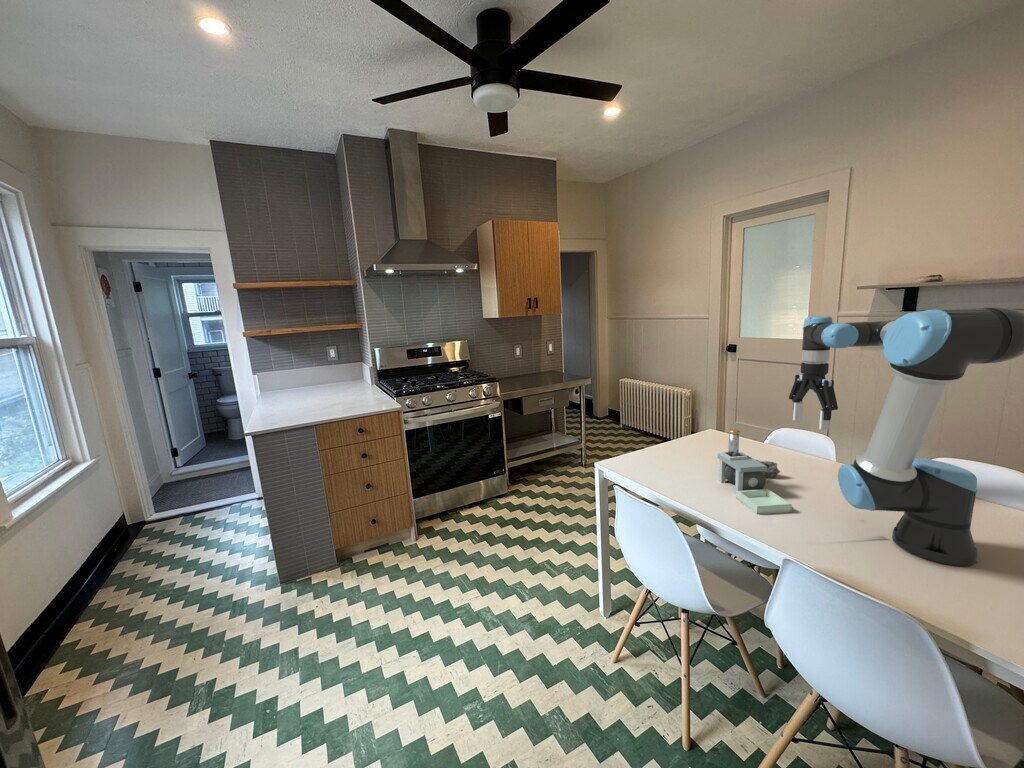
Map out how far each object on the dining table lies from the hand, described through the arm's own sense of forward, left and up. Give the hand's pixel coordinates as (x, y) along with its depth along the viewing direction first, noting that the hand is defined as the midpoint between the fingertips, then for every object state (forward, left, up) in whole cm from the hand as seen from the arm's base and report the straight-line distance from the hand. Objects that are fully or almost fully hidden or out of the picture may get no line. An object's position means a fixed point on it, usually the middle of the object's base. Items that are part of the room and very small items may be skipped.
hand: (810, 424), depth 135 cm
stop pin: (+3, +25, -11) cm, 28 cm away
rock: (+4, +13, -16) cm, 21 cm away
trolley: (0, +24, -22) cm, 33 cm away
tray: (-13, +24, -22) cm, 35 cm away
